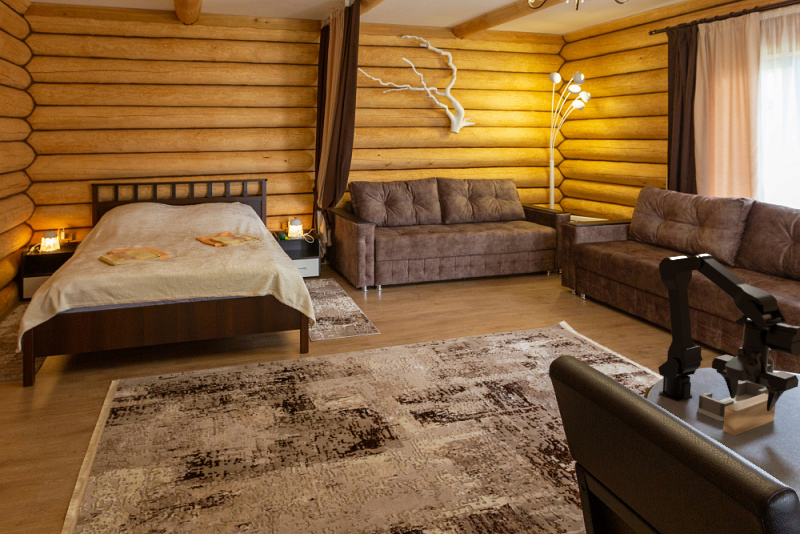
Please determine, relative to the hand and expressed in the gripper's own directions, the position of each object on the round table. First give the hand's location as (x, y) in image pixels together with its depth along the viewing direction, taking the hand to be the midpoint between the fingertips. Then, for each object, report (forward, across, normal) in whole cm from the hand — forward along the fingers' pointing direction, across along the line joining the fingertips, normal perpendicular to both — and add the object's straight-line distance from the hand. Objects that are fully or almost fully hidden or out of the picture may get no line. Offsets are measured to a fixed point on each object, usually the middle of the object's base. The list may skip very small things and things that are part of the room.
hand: (750, 404), depth 155 cm
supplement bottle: (+6, -13, +25) cm, 29 cm away
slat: (+6, 0, 0) cm, 6 cm away
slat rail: (+6, -8, +7) cm, 12 cm away
